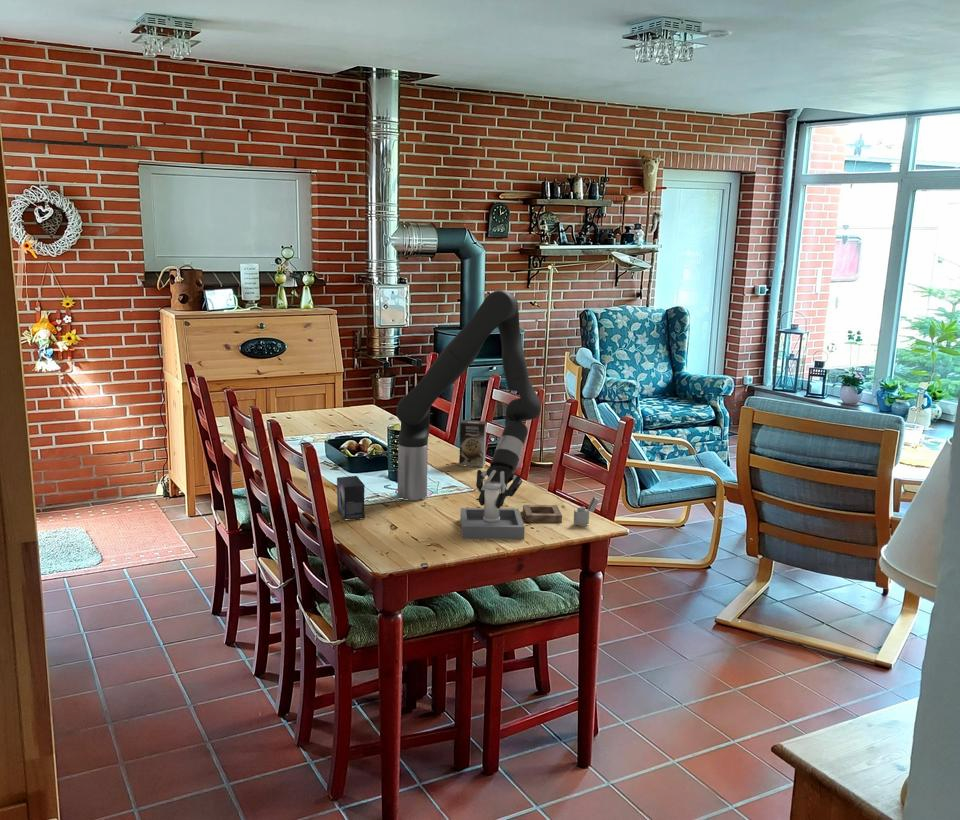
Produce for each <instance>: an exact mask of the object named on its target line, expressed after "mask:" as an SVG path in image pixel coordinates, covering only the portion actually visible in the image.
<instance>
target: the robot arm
mask: <svg viewBox="0 0 960 820" xmlns="http://www.w3.org/2000/svg"><path fill="white" fill-rule="evenodd" d="M519 316H520V313H519V303H518V299H517V298H516V297H515V295H513V294H512V293H511V292H507V291H504V290H495V291H493V292H490V293H489V294H488V295H487V296H486V297H485V298H484V300H483V302H481V305H480V306H479V307H478V309H477V310H476V312H475V313H474V314H473V316H472V317H471V319H470V320H469V321H468V322H467V324H465V326H463V328H462V329H461V330H460V331H459V332H458V333H457V334H456V335H455V336H454V337H453V339H451V341H450V342H449V343H448V344H447V345H446V347H445V348H443V350H441V352H440V353H439V355H438V356H437V358H435V360H434V362H433V363H432V364H431V365H430V366H429V368H428V370H427V371H426V373H425V374H424V376H423V377H422V378H421V380H420V381H419V382H418V383H417V384H416V385H415V386H414V387H412V389H411V390H410V391H408V393H407V394H406V395H405V396H403V397H402V398H400V400H399V401H398V403H397V406H396V412H395V413H396V417H397V419H398V420H399V422H400V430H399V434H398V440H397V441H398V442H397V445H398V446H397V447H398V449H397V451H398V453H397V454H398V455H397V456H398V457H397V458H398V459H397V467H398V468H397V499H398V498H403V499H408V500H417V501H420V500H419V499H423V498H425V497H426V496H427V497H428V452H429V451H428V447H429V446H428V445H429V444H428V443H429V436H430V428H431V427H430V424H431V421H430V420H431V407H432V405H433V404H434V403H435V402H436V400H437V399H438V398H439V397H440V395H442V393H444V392H445V391H446V390H447V389H449V387H451V386H452V385H453V384H454V383H456V381H458V380H459V378H460V377H461V376H462V375H464V373H465V372H466V371H467V370H468V369H469V367H471V365H472V364H473V363H474V361H475V360H476V358H477V357H478V355H479V353H480V351H481V349H482V347H483V345H484V343H485V342H486V340H487V339H488V338H489V336H490V334H492V333H493V331H495V330H496V328H497V329H498V331H499V337H500V341H501V361H502V368H503V372H504V379H505V383H506V386H507V389H508V390H509V391H512V392H517V393H518V395H519V397H518V398H514V399H512V400H511V401H509V403H508V404H507V406H506V409H505V420H504V429H503V432H502V434H501V436H500V438H499V441H498V443H497V444H496V448H495V450H494V453H493V456H492V458H491V461H490V464H489V467H488V468H487V470H484V471H482V470H481V469H478V470H477V471H476V483H475V485H476V489H477V490H478V492H480V493H479V496H478V499H477V501H478V503H479V505H480V506H483V507H484V494H485V488H484V483H485V482H487V481H496V482H500V483H501V489H500V493H499V496H498V498H497V501H496V507H497V508H501V507H502V508H503V506H504V502H505V500H506V498H507V497H513V496H514V495H515V494H516V492H517V491H518V489H519V487H520V486H521V485H522V483H523V479H522V477H521V475H516V474H515V472H516V471H517V467H518V465H519V462H520V459H521V457H522V453H523V450H524V445H525V442H526V440H527V437H528V432H529V429H528V427H527V426H526V425H525V424H524V423H523V422H527V421H531V420H535V419H537V418H538V417H539V416H540V414H541V411H542V404H541V401H540V398H539V396H538V394H537V393H536V391H535V389H534V387H533V385H532V383H531V381H530V377H529V371H528V368H527V362H526V357H525V352H524V349H523V348H524V347H523V342H522V337H521V328H520V317H519ZM486 476H487V478H486ZM484 480H485V481H484ZM511 481H512V483H511ZM509 483H511V484H510V485H509ZM508 485H509V487H508ZM425 499H426V498H425ZM423 500H424V499H423Z"/></svg>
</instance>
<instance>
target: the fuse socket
mask: <svg viewBox="0 0 960 820" xmlns="http://www.w3.org/2000/svg"><path fill="white" fill-rule="evenodd" d="M522 513H523V515H524V519H525V521H526V523H562V522H563V514H562V513H561V510H560V508H559V505H557V504H523V505H522Z"/></svg>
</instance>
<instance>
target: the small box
mask: <svg viewBox="0 0 960 820" xmlns="http://www.w3.org/2000/svg"><path fill="white" fill-rule="evenodd" d="M365 487H366V486H365V484H364V483H363V481H362V480H361V479H360V477H358V476H357V475H349V476H348V475H347V476H339V477H336V494H337V498H336V500H337V502H336V504H337V506H336V507H337V511H338V513H339V512H340V513H339V514H340V516H341V515H342V516H343V517H342V516H341V517H342V518H344V519H357V520H359V519H358V518H365V519H366V513H365V510H366V509H365V506H366V504H365ZM344 519H343V520H344Z"/></svg>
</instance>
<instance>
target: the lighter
mask: <svg viewBox="0 0 960 820" xmlns="http://www.w3.org/2000/svg"><path fill="white" fill-rule="evenodd" d="M599 502H600V499H599V498H597V497H595V496H593V497H592V499H591V501H590V503H589V505H588V507H587V509H586V507H585V506H578V508H577V509H574V510H573V511H574V512H573V525H574V524H575V525H583V526H588V525H587V524H589V521H590V512H591V513H594V512H595V509H596V508H597V505H598V504H599ZM575 525H574V526H575Z"/></svg>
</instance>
